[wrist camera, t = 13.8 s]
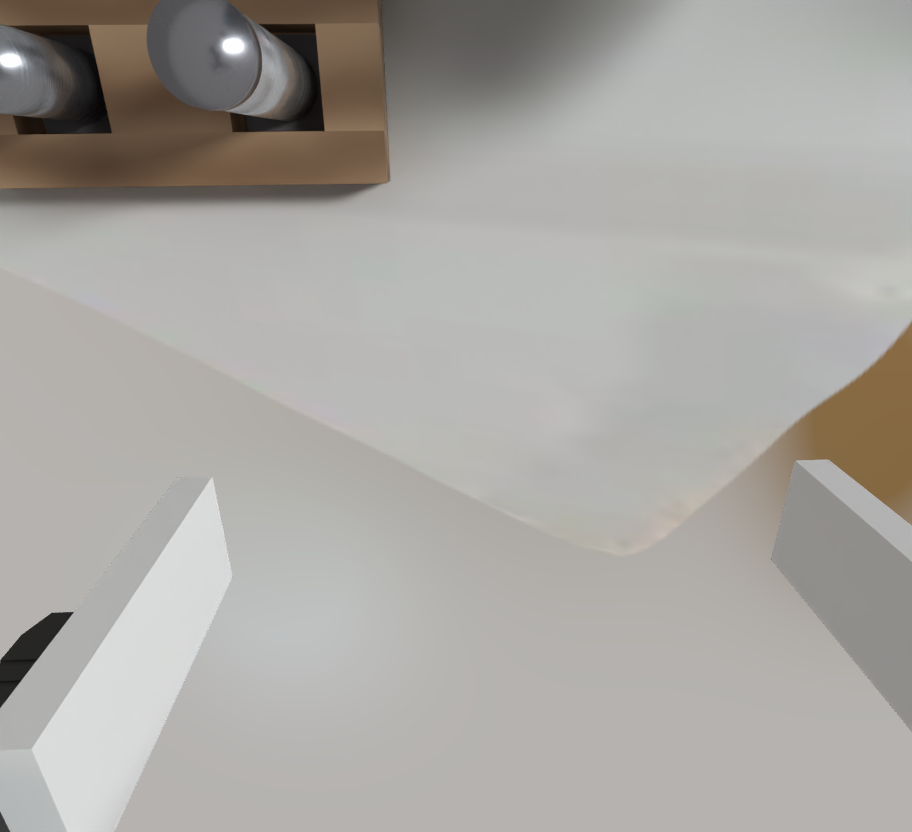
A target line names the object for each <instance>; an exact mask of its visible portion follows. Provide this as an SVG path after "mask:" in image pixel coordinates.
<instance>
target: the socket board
mask: <svg viewBox="0 0 912 832" xmlns="http://www.w3.org/2000/svg"><path fill="white" fill-rule="evenodd" d="M159 1H160V0H0V24H3V25H6V26H10V27H13V28H16V29H19V30H22V31H25V32H28V33H32V34H35V35H38V36H41V37H44V38H47V39H50V40H54V41H57V42H60V43H63V44H66V45H69V46H72V47H76V48H79V49H82V50H84V51H86V52H88V53H90V54H91V55H93V56H94V57H95V58H96V62H97V67H98V72H99V76H100V81H101V85H102V90H103V94H104V99H105V103H106V108H107V113H106V115H105V116H104V117H102V118H101V119H99V120H97V121H95V122H90V123H82V122H73V121H64V120H54V119H45V118H36V117H27V116H18V115H9V114H0V189H9V188H82V187H154V186H227V185H299V184H372V183H388V182H389V181H390V166H389V147H388V127H387V108H386V89H385V69H384V50H383V30H382V11H381V0H227V1H228V2H230V3H231V4H233V5H234V6H235V7H237V8H238V9H239V10H240V11H241V12H242V13H243V14H244V15H246V16H247V17H249V18H250V19H251V20H253V21H254V22H256V23H257V24H259V25H260V26H261V27H263V28H264V29H266V30H267V31H269V32H270V33H271V34H273V35H274V36H276V37H277V38H279V39H280V40H281V41H283V42H284V43H286V44H287V45H289V46H290V47H291V48H293V49H294V50H296V51H297V52H299V53H300V54H301V55H302V56H304V57H305V58H306V60H307V61H308V62H309V63H310V65H311V67H312V68H313V71H314V73H315V76H316V80H317V96H316V100H315V103H314V105H313V107H312V108H311V110H310V111H309V112H308V113H307V114H306V115H305V116H304V117H302V118H300V119H298V120H294V121H280V120H274V119H268V118H262V117H256V116H250V115H244V114H238V113H232V112H226V111H212V110H205V109H200V108H196V107H193V106H190V105H188V104H186V103H184V102H182V101H181V100H179V99H178V98H176V97H175V96H174V95H173V94H171V93H170V92H169V91H168V90H167V89H166V87H165V86H164V85H163V84H162V82H161V81H160V80H159V78H158V76H157V75H156V73H155V71H154V69H153V67H152V64H151V61H150V58H149V54H148V50H147V26H148V22H149V19H150V16H151V14H152V12H153V10H154V8H155V6H156V5H157V4H158V2H159Z"/></svg>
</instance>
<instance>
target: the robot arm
mask: <svg viewBox="0 0 912 832" xmlns="http://www.w3.org/2000/svg"><path fill="white" fill-rule="evenodd" d="M771 560H772V561H773V563H774V564H775V565H776V566H777V568H778V569H779V570H780V571H781V572H782V574H783V575H784V576H785V577H786V578H787V580H788V581H789V582H790V583H791V585H792V586H793V587H794V588H795V590H796V591H797V592H798V593H799V594H800V596H801V597H802V598H803V599H804V600H805V602H806V603H807V604H808V605H809V607H810V608H811V609H812V610H813V612H814V613H815V614H816V615H817V616H818V618H819V619H820V620H821V621H822V622H823V624H824V625H825V626H826V627H827V629H828V630H829V631H830V632H831V633H832V635H833V636H834V637H835V638H836V640H837V641H838V642H839V643H840V644H841V646H842V647H843V648H844V649H845V651H846V652H847V653H848V654H849V655H850V657H851V658H852V659H853V660H854V661H855V663H856V664H857V665H858V666H859V667H860V669H861V670H862V671H863V673H864V674H865V675H866V676H867V677H868V679H869V680H870V681H871V682H872V683H873V685H874V686H875V687H876V688H877V690H878V691H879V692H880V693H881V694H882V696H883V697H884V698H885V699H886V701H887V702H888V703H889V704H890V706H891V707H892V708H893V709H894V710H895V712H896V713H897V714H898V715H899V717H900V718H901V719H902V720H903V721H904V723H905V724H906V725H907V726H908V728H909V729H910V730H911V731H912V526H911V525H910V524H909V523H907V522H906V521H905V520H904V519H902V518H901V517H900V516H899V515H897V514H896V513H895V512H894V511H892V510H891V509H890V508H888V507H887V506H886V505H885V504H884V503H882V502H881V501H880V500H879V499H877V498H876V497H875V496H873V495H872V494H871V493H870V492H868V491H867V490H866V489H865V488H863V487H862V486H861V485H860V484H858V483H857V482H856V481H854V480H853V479H852V478H851V477H849V476H848V475H847V474H846V473H844V472H843V471H842V470H841V469H839V468H838V467H837V466H836V465H834V464H833V463H832V462H831V461H829V460H799V461H795V464H794V468H793V472H792V476H791V480H790V485H789V488H788V492H787V497H786V501H785V504H784V508H783V512H782V516H781V521H780V525H779V529H778V533H777V537H776V541H775V545H774V549H773V553H772V557H771ZM231 578H232V573H231V568H230V563H229V558H228V552H227V548H226V542H225V537H224V533H223V527H222V523H221V518H220V512H219V508H218V502H217V497H216V493H215V488H214V483H213V478H212V477H178V478H177V479H176V480H175V481H174V482H173V484H172V485H171V486H170V488H169V489H168V490H167V492H166V493H165V494H164V495H163V497H162V498H161V499H160V501H159V502H158V503H157V505H156V506H155V507H154V508H153V510H152V511H151V512H150V514H149V515H148V516H147V518H146V519H145V520H144V522H143V523H142V524H141V525H140V527H139V528H138V529H137V531H136V532H135V533H134V535H133V536H132V537H131V539H130V540H129V541H128V542H127V544H126V545H125V546H124V548H123V549H122V550H121V552H120V553H119V554H118V555H117V557H116V558H115V559H114V561H113V562H112V563H111V565H110V566H109V567H108V569H107V570H106V571H105V572H104V574H103V575H102V576H101V578H100V579H99V580H98V582H97V583H96V584H95V585H94V587H93V588H92V589H91V591H90V592H89V593H88V595H87V596H86V597H85V598H84V600H83V601H82V602H81V604H80V605H79V606H78V608H77V609H76V610H75V611H74V612H63V613H51V614H50V615H48V616H47V617H45V618H44V619H43V620H42V621H40V622H39V623H37V624H36V625H35V626H33V627H32V628H30V629H29V630H28V631H26V632H25V633H24V634H22V635H21V636H20V637H19V639H18V640H17V641H16V642H15V643H14V645H13V646H12V647H11V648H10V649H9V651H8V652H7V653H6V654H5V656H4V657H3V658H2V659H1V660H0V832H115V829H116V827H117V825H118V823H119V821H120V819H121V816H122V814H123V812H124V810H125V808H126V806H127V803H128V801H129V799H130V797H131V795H132V793H133V791H134V788H135V786H136V784H137V782H138V780H139V777H140V775H141V773H142V771H143V769H144V767H145V765H146V762H147V760H148V758H149V756H150V754H151V752H152V749H153V747H154V745H155V743H156V741H157V738H158V736H159V734H160V732H161V730H162V728H163V726H164V723H165V721H166V719H167V717H168V715H169V713H170V711H171V708H172V706H173V704H174V701H175V700H176V697H177V695H178V693H179V691H180V689H181V687H182V685H183V682H184V680H185V678H186V676H187V674H188V672H189V669H190V667H191V665H192V663H193V660H194V658H195V657H196V654H197V652H198V650H199V648H200V646H201V643H202V641H203V639H204V637H205V635H206V633H207V631H208V628H209V626H210V624H211V622H212V620H213V618H214V615H215V613H216V611H217V609H218V607H219V605H220V602H221V600H222V598H223V596H224V594H225V592H226V590H227V587H228V585H229V583H230V581H231Z"/></svg>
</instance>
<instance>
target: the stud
mask: <svg viewBox="0 0 912 832" xmlns="http://www.w3.org/2000/svg"><path fill="white" fill-rule="evenodd" d="M147 50H148V54H149V58H150V61H151V64H152V67H153V69H154V71H155V73H156V75H157V76H158V78H159V80H160V81H161V82H162V84H163V85H164V86H165V87H166V89H167V90H168V91H169V92H170V93H171V94H173V95H174V96H175V97H176V98H178V99H179V100H181V101H182V102H184V103H186V104H188V105H190V106H193V107H196V108H200V109H205V110H212V111H226V112H232V113H238V114H244V115H250V116H256V117H262V118H268V119H274V120H280V121H294V120H298V119H300V118H302V117H304V116H305V115H306V114H307V113H308V112H309V111H310V110H311V108H312V107H313V105H314V103H315V100H316V96H317V80H316V76H315V73H314V71H313V68H312V67H311V65H310V63H309V62H308V61H307V60H306V58H305V57H304V56H302V55H301V54H300V53H299V52H297V51H296V50H294V49H293V48H291V47H290V46H289V45H287V44H286V43H284V42H283V41H281V40H280V39H279V38H277V37H276V36H274V35H273V34H271V33H270V32H269V31H267V30H266V29H264V28H263V27H261V26H260V25H259V24H257V23H256V22H254V21H253V20H251V19H250V18H249V17H247V16H246V15H244V14H243V13H242V12H241V11H240V10H239V9H238V8H237V7H235V6H234V5H233V4H231V3H230V2H228V1H227V0H160V1H159V2H158V4H157V5H156V6H155V8H154V10H153V12H152V14H151V16H150V19H149V22H148V26H147Z"/></svg>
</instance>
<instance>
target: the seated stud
mask: <svg viewBox="0 0 912 832" xmlns="http://www.w3.org/2000/svg"><path fill="white" fill-rule="evenodd" d="M106 113H107V108H106V103H105V99H104V94H103V90H102V85H101V81H100V76H99V72H98V67H97V62H96V58H95V57H94V56H93V55H91V54H90V53H88V52H86V51H84V50H82V49H79V48H76V47H72V46H69V45H66V44H63V43H60V42H57V41H54V40H50V39H47V38H44V37H41V36H38V35H35V34H32V33H28V32H25V31H22V30H19V29H16V28H13V27H10V26H6V25H3V24H0V114H9V115H18V116H27V117H36V118H45V119H54V120H64V121H73V122H82V123H90V122H95V121H97V120H99V119H101V118H102V117H104V116H105V115H106Z"/></svg>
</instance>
